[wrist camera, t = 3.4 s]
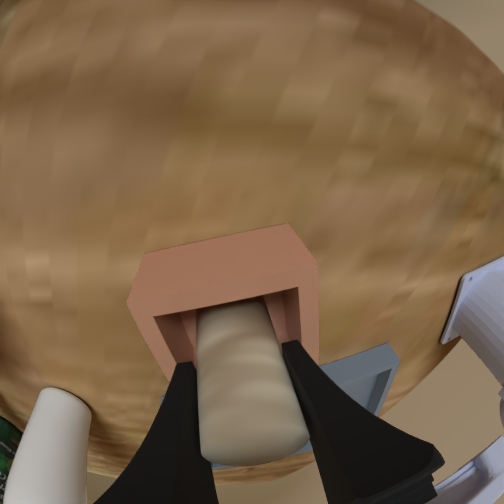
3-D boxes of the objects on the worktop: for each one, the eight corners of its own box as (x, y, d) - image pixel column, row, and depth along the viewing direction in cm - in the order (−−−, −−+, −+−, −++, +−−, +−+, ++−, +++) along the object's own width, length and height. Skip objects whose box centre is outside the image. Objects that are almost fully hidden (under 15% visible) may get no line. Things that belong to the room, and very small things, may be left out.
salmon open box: (288, 223, 13) (318, 263, 10) (297, 330, 17) (317, 378, 13) (144, 253, 13) (126, 303, 9) (185, 353, 16) (184, 405, 13)
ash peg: (259, 269, 13) (310, 414, 6) (267, 322, 15) (309, 453, 8) (188, 283, 13) (185, 438, 6) (206, 334, 15) (216, 470, 8)
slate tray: (387, 342, 19) (400, 360, 17) (364, 415, 25) (371, 429, 23) (161, 396, 18) (159, 419, 16) (207, 453, 24) (209, 469, 22)
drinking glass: (107, 426, 20) (99, 561, 6) (49, 411, 18) (27, 534, 5) (89, 388, 17) (68, 560, 4) (24, 370, 15) (-17, 517, 2)
